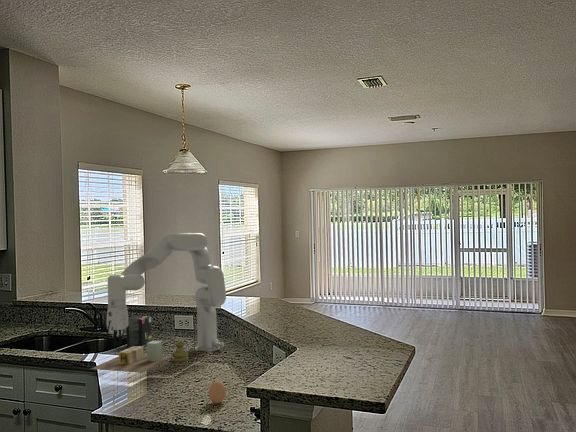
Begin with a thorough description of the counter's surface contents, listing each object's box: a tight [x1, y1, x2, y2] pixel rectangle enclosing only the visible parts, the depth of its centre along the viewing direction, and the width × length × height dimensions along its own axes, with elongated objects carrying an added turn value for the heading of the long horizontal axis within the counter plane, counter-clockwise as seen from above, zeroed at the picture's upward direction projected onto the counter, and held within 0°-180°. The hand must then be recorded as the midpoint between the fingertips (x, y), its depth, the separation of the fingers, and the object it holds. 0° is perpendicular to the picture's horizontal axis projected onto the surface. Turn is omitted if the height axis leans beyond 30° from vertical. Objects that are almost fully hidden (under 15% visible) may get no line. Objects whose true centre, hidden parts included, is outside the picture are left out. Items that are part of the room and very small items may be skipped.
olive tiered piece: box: [171, 340, 190, 363], centre depth 243 cm, size 7×7×10 cm
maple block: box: [118, 346, 145, 364], centre depth 244 cm, size 5×5×12 cm
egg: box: [208, 380, 227, 404], centre depth 189 cm, size 6×6×8 cm
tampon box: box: [125, 315, 153, 348], centre depth 279 cm, size 11×9×15 cm
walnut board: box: [89, 353, 173, 374], centre depth 241 cm, size 26×28×1 cm
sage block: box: [146, 340, 163, 361], centre depth 245 cm, size 5×5×8 cm
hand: (117, 344), depth 235 cm, fingers closed
